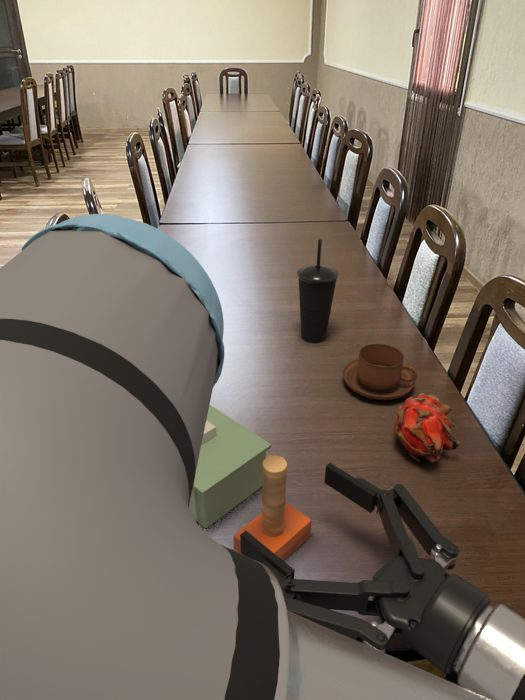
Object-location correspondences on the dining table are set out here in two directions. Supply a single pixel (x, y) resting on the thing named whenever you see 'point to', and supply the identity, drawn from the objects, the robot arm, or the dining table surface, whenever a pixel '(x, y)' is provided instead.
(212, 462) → the cabinet
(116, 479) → the robot arm
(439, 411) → the dragon fruit
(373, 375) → the cup and saucer
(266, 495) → the wooden peg on base
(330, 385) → the dining table surface
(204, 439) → the beige square tile
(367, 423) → the dining table surface
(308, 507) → the dining table surface
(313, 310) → the drinking cup
